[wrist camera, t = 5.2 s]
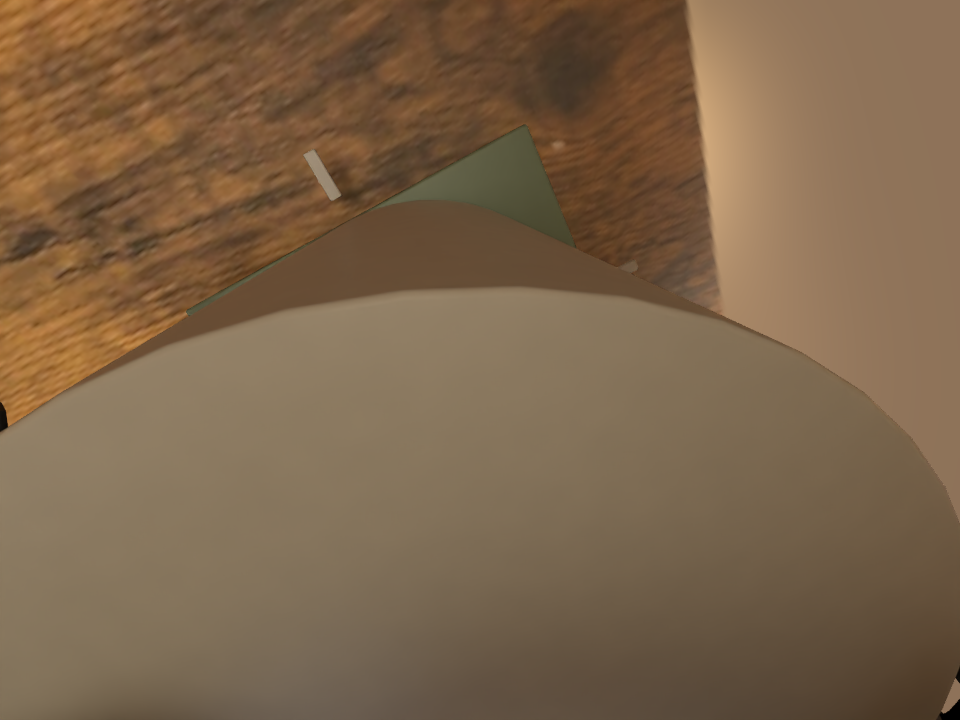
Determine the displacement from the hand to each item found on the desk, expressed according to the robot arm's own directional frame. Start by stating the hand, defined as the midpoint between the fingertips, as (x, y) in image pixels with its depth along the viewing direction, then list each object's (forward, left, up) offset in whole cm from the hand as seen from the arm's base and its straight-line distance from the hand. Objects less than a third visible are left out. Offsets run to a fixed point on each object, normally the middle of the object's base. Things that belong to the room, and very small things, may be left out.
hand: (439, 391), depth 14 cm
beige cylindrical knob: (0, 0, -2) cm, 2 cm away
